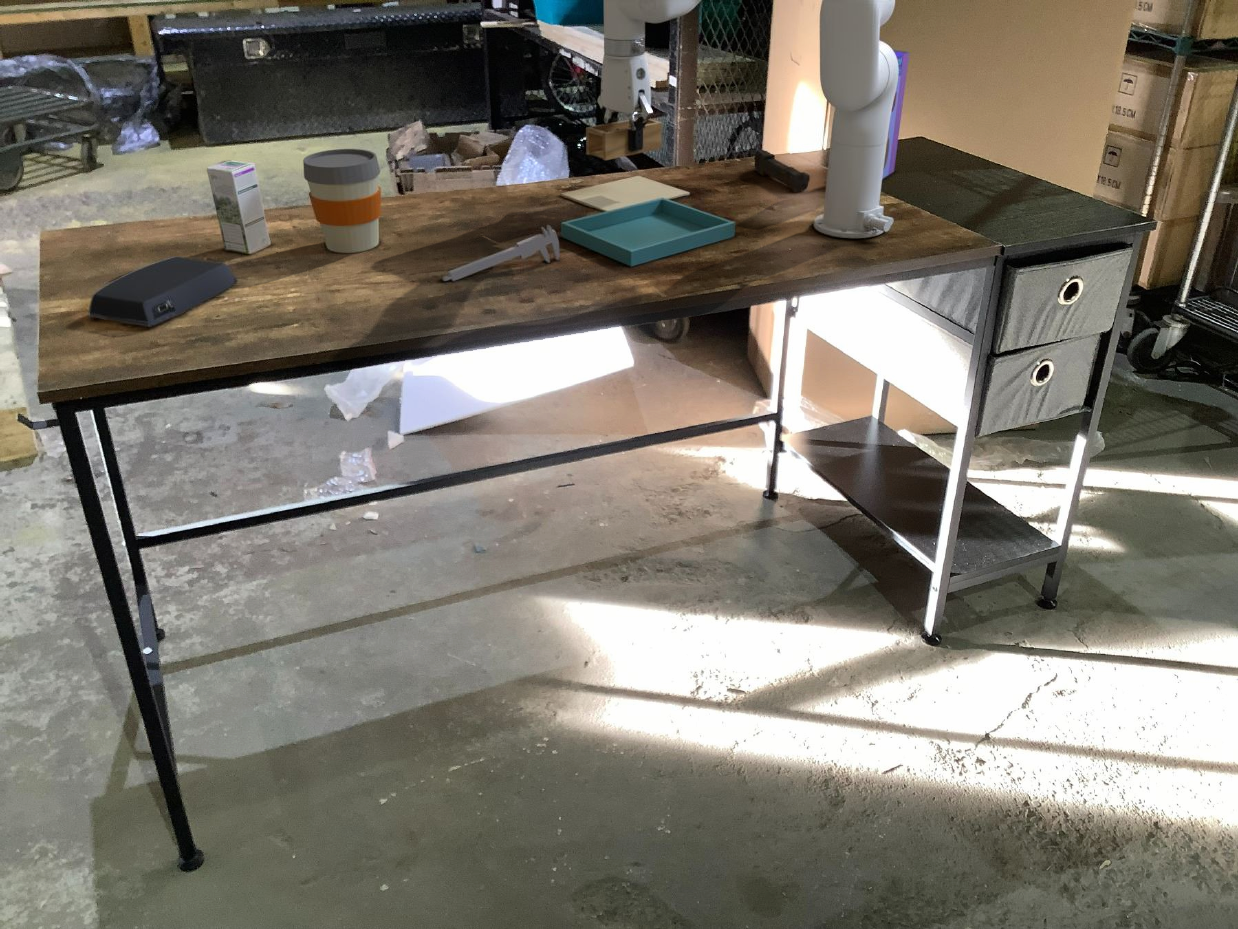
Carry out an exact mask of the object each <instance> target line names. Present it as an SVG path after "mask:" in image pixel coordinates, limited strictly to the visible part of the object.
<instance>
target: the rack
mask: <svg viewBox="0 0 1238 929" xmlns="http://www.w3.org/2000/svg"><path fill="white" fill-rule="evenodd" d="M634 118H635V121H636V120H637V119H638V117H634ZM628 130H631V128H630V124H629V119H624V120H618V122H613V123H608V124H607V123H603V124H598V125H592V126H587V127H585V139H586V140H585V142H586V143H585V146H586V147H585V148H586V149H585V151H586V152H585V153H586V155H588V156H589V155H590V156H593V157H598V158H600V159H602V160H603V161H609V160H614V159H619V158H623V157H627V156H633V155H638V154H641V153H646V152H650V151H655V150H661V149H662V147H663V145H662V144H663V142H662V141H663V122H662V121H659V120H655V119H653V118H652V119H651V118H650V119H649V120H648V122H647V124H646V125H645V128H644V129H643V149H642V150H638V151H633V152H630V151H629V150H628Z"/></svg>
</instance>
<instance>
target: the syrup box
mask: <svg viewBox="0 0 1238 929" xmlns="http://www.w3.org/2000/svg"><path fill="white" fill-rule="evenodd" d="M206 172H207V176H208V181H209V186H210V189H211V195H212V199H213V203H214V208H215V212H216V216H217V221H218V226H219V230H220V233H221V238H222V243H223V247H224V251H229V252H234V253H240V254H246V255H251V254H254V253H257V252H259V251H261V250H263V249H265V248H268V247H269V246H271V245H272V244H271V238H270V235H269V234H270V233H269V228H268V224H267V220H266V213H265V209H264V205H263V199H262V195H261V189H260V184H259V179H258V174H257V169H256V165H255V163H254V162H249V161H248V162H247V161H240V160H239V161H238V160H232V159H226V160H222V161H220V162H217V163H214V164H212V165H210V166H207V167H206Z"/></svg>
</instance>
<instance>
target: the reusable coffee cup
mask: <svg viewBox="0 0 1238 929" xmlns="http://www.w3.org/2000/svg"><path fill="white" fill-rule="evenodd" d="M302 165H303V178H304V180H305V181H307V184H308V188H309V193H308V196H309V200H310V203H311V204H310V205H311V208H312V209H313V214H314V218H315V220H316V221H317V222H318V223H319V226H320V229H321V233H322V236H323V239H324V242H325V246H326V249H328V250H329V251H331V252H335V253H342V254H352V253H360V252H365V251H368V250H372V249H374V248H375V247H377V246H378V245H379V243H380V242H379V241H380V240H379V239H380V237H379V233H380V232H379V230H380V229H379V228H380V227H379V225H380V224H379V221H380V217H381V215H382V189H381V186H379V176H380V174H381V170H380V169H381V168H380V165H379V161H378V156H377V154H376V153H375V152H374V151H371V150H368V149H360V148H337V149H336V148H335V149H328V150H322V151H319V152H318V151H317V152H313V153H311V154H308V155H307V156H305V157H304V158H303V161H302Z"/></svg>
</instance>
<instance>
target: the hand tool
mask: <svg viewBox="0 0 1238 929" xmlns="http://www.w3.org/2000/svg"><path fill="white" fill-rule="evenodd" d="M753 160H754V169H755V170H756V172H758V173H759V174H760V175H761V176H762V177H771V178H772V179H775V180H777V181H778V182H780V183H782V184H783V185H785V186H787V187H788V188H790V191H792V193H794V194H795V193H801V192H803V191H807V190H806V189H808V187H809V182H810V175H809V174H808V173H807V172H805V171H799V170H798V169H796V168H795V167H794V166H793V167H792V166H789V165H787V164H785V163H783V162H781V161H780V160H777V159H776V157H775V154H773V153H771V152H770V151H768V150H764V149H759V150H757V151H756V152H755V155H754V159H753Z"/></svg>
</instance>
